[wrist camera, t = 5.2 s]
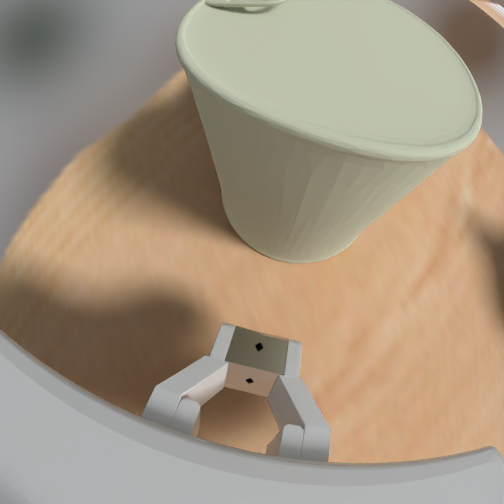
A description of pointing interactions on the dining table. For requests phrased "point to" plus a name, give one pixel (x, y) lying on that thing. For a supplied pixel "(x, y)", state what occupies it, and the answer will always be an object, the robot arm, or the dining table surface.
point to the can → (322, 114)
